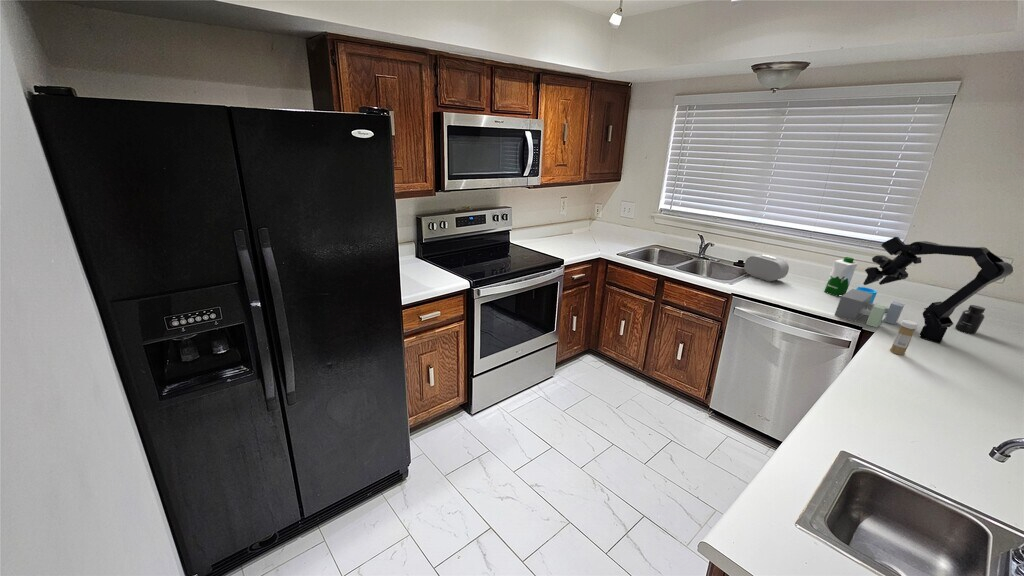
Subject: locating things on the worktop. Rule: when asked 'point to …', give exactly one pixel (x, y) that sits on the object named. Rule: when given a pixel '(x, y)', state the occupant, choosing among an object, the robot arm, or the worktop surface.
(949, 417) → the worktop surface
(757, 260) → the grey rounded oblong block
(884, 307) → the green key
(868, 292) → the mug
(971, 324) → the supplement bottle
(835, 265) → the milk carton
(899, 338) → the sprinkles bottle
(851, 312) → the grey curved block
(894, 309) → the grey key
